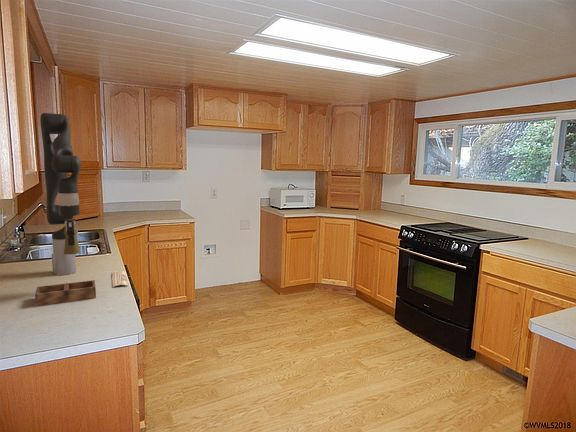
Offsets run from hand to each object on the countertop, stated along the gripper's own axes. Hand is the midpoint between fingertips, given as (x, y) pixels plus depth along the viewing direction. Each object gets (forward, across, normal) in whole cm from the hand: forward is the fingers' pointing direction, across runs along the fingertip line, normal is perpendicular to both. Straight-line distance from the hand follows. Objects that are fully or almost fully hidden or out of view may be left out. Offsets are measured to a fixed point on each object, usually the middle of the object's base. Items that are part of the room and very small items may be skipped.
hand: (71, 243), depth 164 cm
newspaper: (+20, -6, +19) cm, 28 cm away
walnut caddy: (+20, +11, -3) cm, 23 cm away
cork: (+4, 0, 0) cm, 4 cm away
